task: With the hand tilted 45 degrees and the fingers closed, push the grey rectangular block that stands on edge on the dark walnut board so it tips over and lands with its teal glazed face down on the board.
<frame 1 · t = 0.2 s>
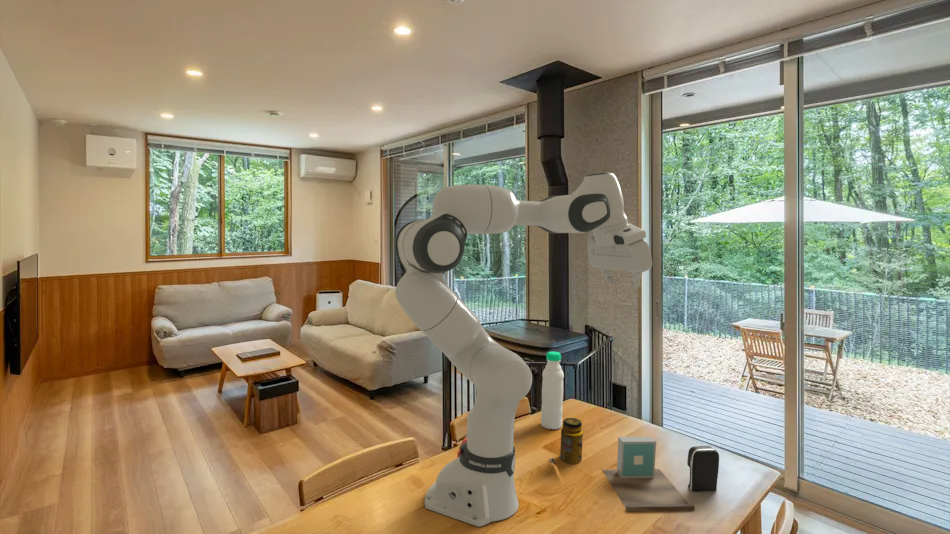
hand: (623, 285, 126), 52 cm above the table, tool tilted 20°, fingers open, 8 cm apart
water bottle: (551, 426, 161), on the table
board: (643, 490, 123), on the table
battery charger: (700, 491, 123), on the table
condiment: (568, 462, 137), on the table
grey rectangular block: (635, 475, 129), point 1 cm above the table, touching board
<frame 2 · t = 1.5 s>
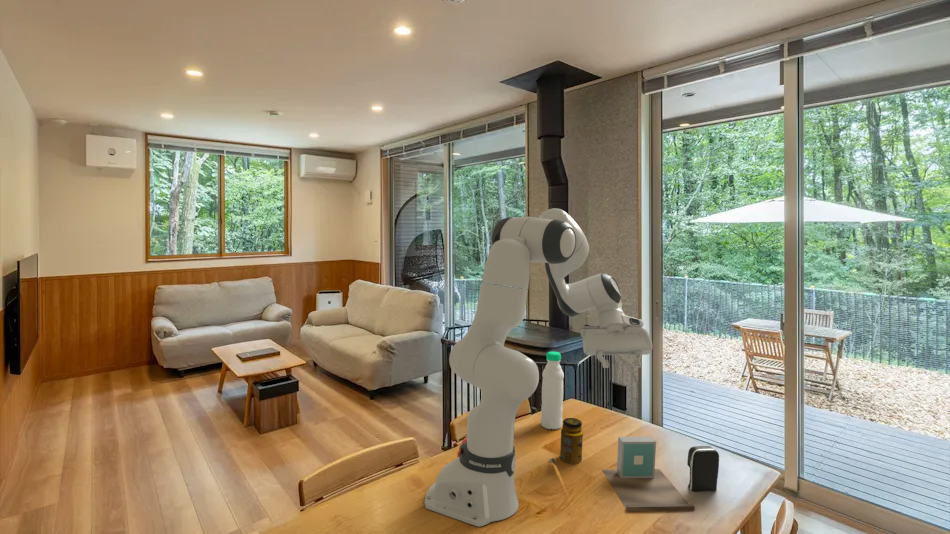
hand: (622, 366, 140), 26 cm above the table, tool tilted 45°, fingers open, 8 cm apart
nothing on the table moved.
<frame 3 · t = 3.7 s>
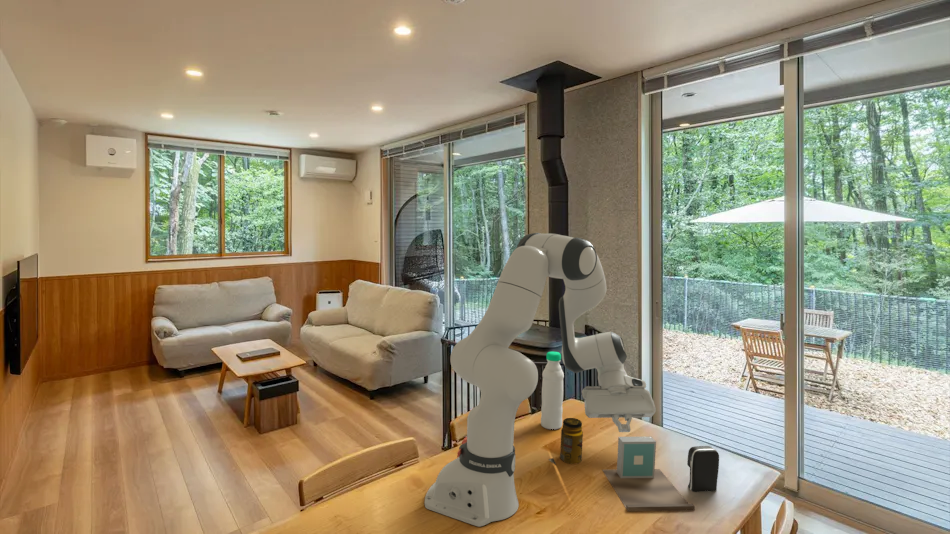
hand: (624, 431, 137), 9 cm above the table, tool tilted 45°, fingers closed
nothing on the table moved.
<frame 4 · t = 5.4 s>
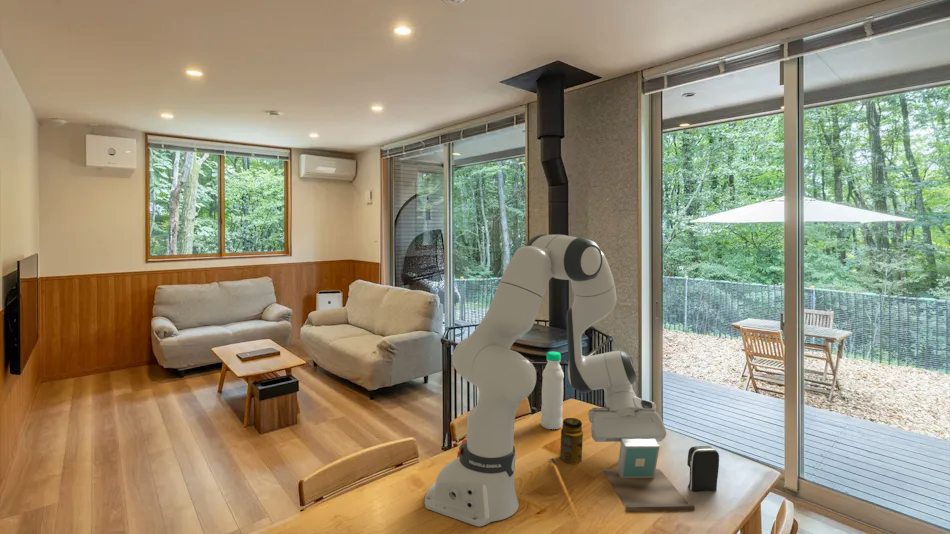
hand: (634, 457, 129), 5 cm above the table, tool tilted 45°, fingers closed
grey rectangular block: (635, 474, 129), point 1 cm above the table, tilted 12°, touching board, gripper
everything else where it was.
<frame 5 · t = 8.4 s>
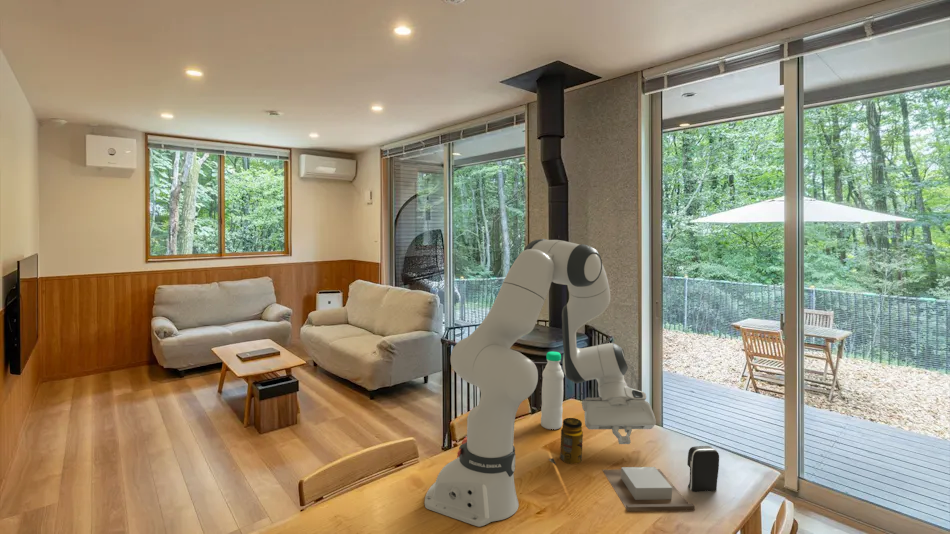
hand: (624, 443, 137), 6 cm above the table, tool tilted 45°, fingers closed
grey rectangular block: (637, 472, 127), point 2 cm above the table, tilted 90°, touching board
everything else where it was.
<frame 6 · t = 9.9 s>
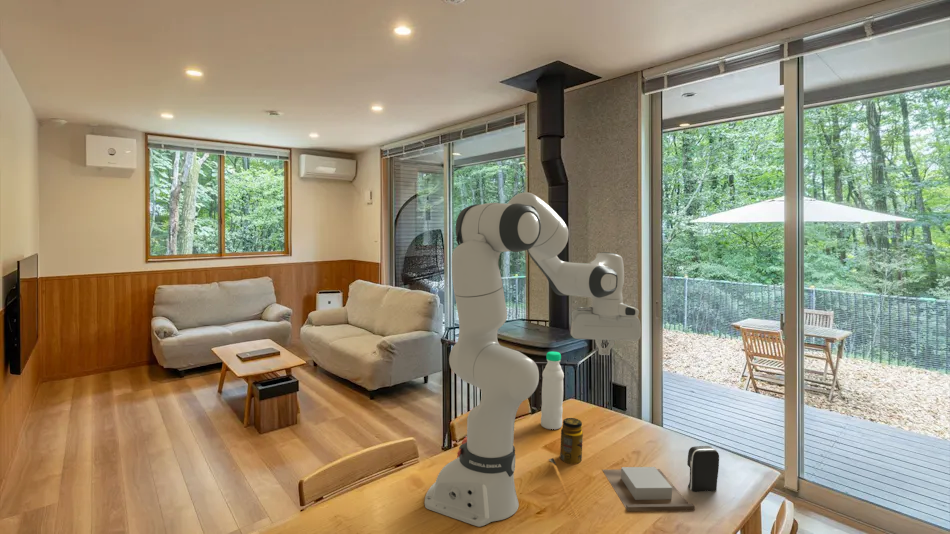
hand: (604, 354, 142), 29 cm above the table, tool pointing down, fingers closed
nothing on the table moved.
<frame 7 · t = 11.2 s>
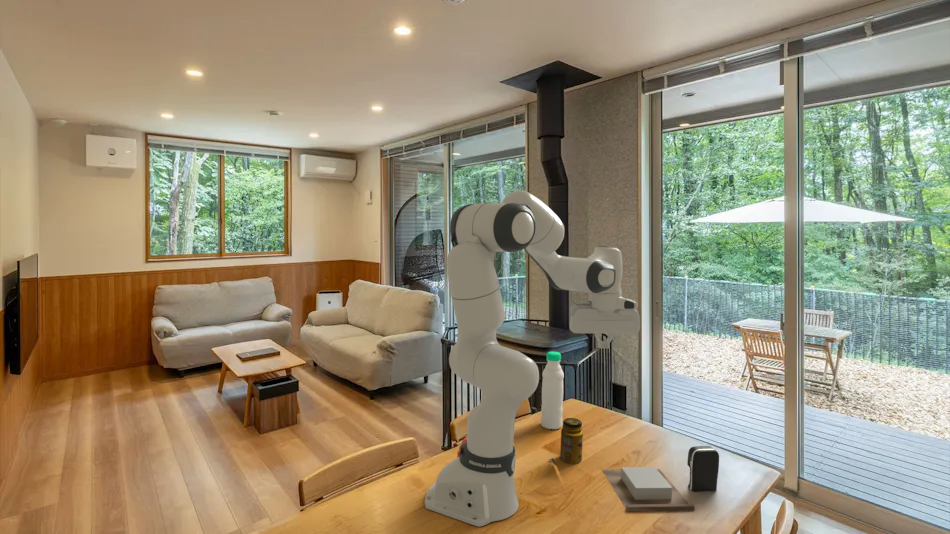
hand: (603, 347, 142), 31 cm above the table, tool pointing down, fingers closed
nothing on the table moved.
at the end: grey rectangular block tilted 90°; grey rectangular block inside the target area on the board (4.4 cm from its centre), point 2.4 cm above the board's base; the gripper is holding nothing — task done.
